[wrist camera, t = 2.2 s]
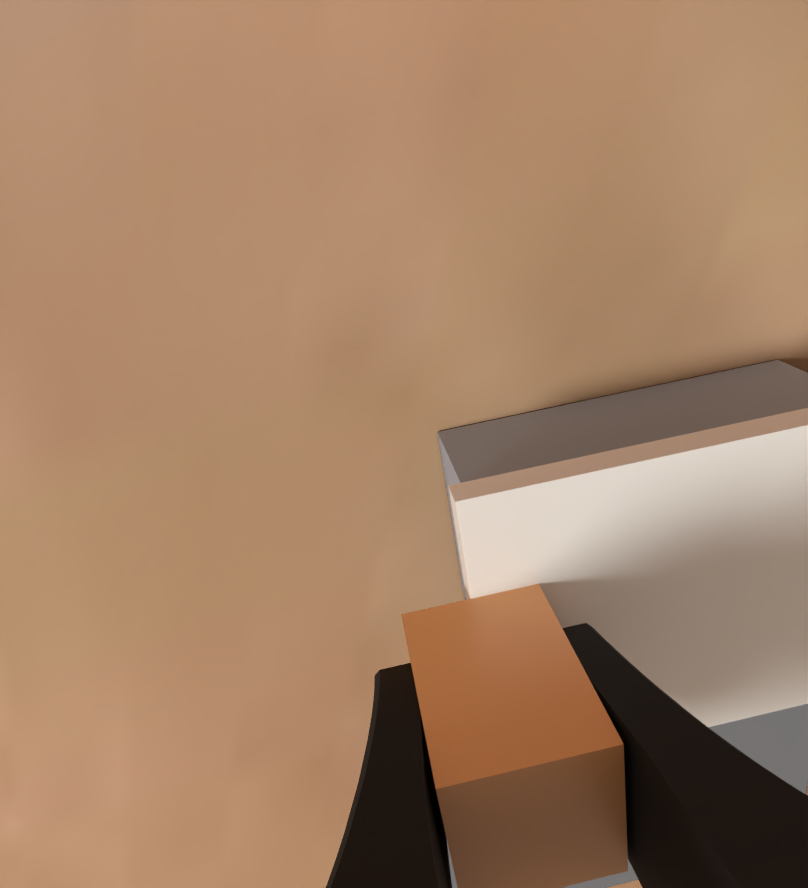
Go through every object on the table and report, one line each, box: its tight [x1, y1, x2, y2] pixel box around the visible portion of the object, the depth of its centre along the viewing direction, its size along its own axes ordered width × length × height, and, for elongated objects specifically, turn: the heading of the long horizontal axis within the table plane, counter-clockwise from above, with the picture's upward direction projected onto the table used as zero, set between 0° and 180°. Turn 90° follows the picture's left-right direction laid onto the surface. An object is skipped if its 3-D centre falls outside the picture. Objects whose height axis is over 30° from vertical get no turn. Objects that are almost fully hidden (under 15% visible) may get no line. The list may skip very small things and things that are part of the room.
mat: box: [447, 704, 808, 888], centre depth 20 cm, size 13×9×1 cm
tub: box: [437, 360, 808, 600], centre depth 15 cm, size 8×6×3 cm
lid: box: [401, 408, 808, 888], centre depth 12 cm, size 10×7×5 cm
